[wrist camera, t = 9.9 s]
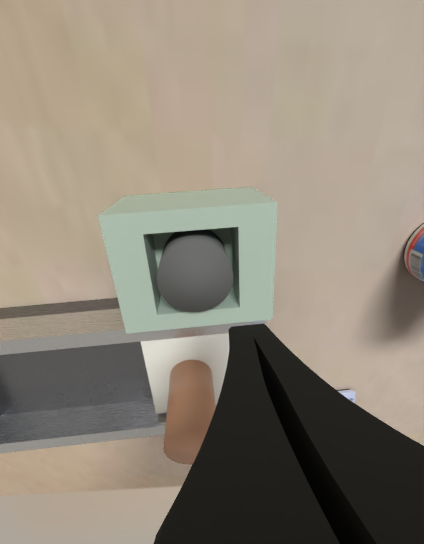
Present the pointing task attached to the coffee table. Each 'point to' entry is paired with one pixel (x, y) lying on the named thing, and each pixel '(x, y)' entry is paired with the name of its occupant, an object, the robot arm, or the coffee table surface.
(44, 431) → the grey rectangular tray
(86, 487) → the coffee table surface
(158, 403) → the plaque with round peg
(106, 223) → the cabinet
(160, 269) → the button
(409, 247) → the blue bottle
